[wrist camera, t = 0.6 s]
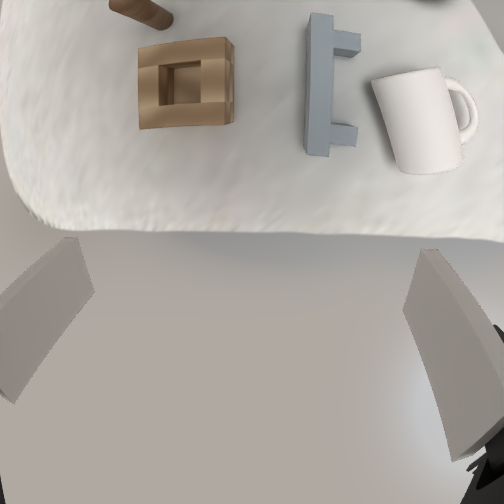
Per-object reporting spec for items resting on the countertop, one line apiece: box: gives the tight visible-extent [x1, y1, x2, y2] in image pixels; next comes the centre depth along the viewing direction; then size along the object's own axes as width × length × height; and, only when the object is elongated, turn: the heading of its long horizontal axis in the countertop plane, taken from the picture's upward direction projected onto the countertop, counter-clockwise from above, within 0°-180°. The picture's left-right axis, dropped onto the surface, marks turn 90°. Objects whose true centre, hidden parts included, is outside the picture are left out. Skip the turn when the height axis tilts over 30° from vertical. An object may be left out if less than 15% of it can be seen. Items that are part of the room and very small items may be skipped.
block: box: [138, 37, 234, 130], centre depth 26 cm, size 9×9×5 cm
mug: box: [371, 67, 479, 175], centre depth 23 cm, size 12×10×8 cm
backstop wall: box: [303, 13, 361, 157], centre depth 24 cm, size 14×5×6 cm, turn 179°
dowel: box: [109, 0, 173, 30], centre depth 20 cm, size 3×3×10 cm
